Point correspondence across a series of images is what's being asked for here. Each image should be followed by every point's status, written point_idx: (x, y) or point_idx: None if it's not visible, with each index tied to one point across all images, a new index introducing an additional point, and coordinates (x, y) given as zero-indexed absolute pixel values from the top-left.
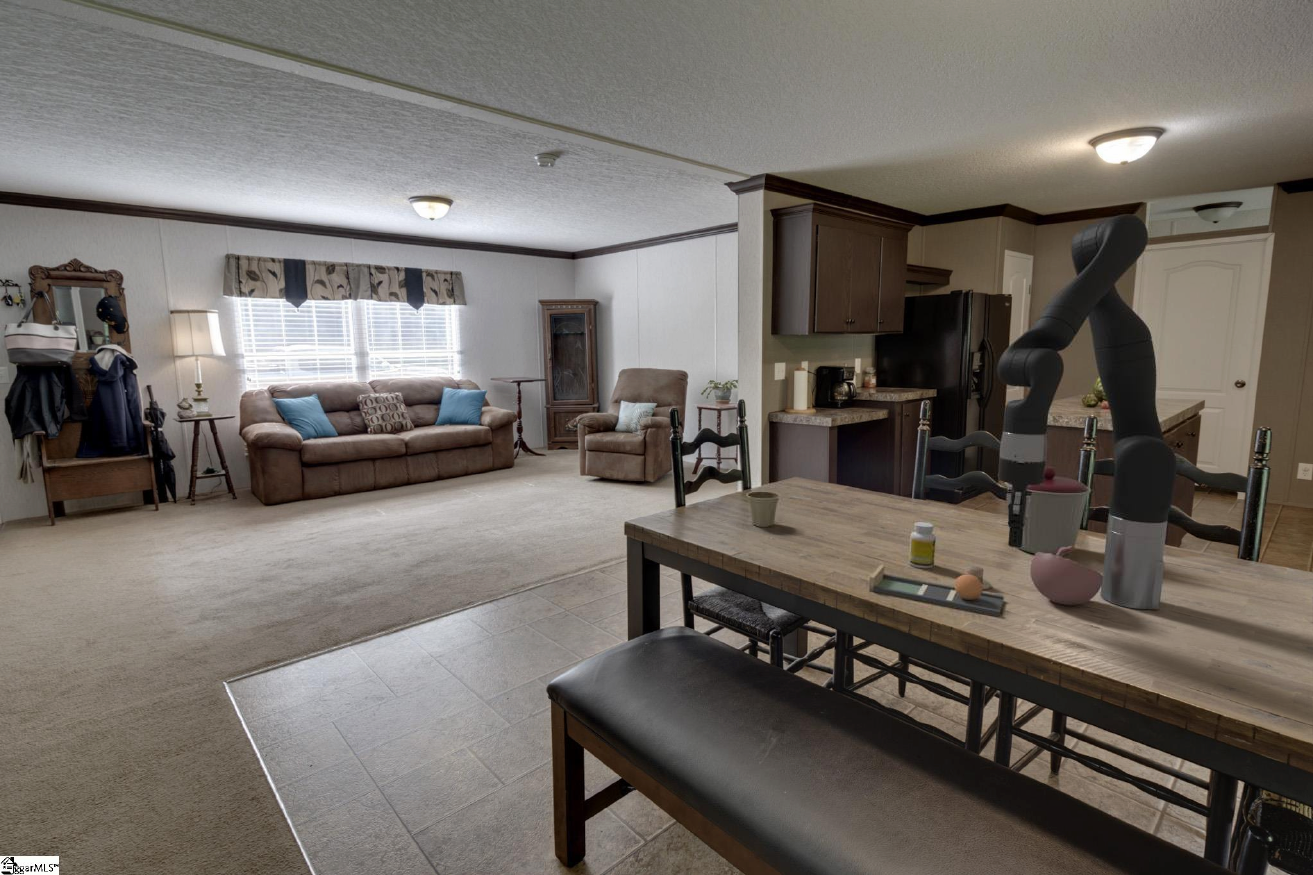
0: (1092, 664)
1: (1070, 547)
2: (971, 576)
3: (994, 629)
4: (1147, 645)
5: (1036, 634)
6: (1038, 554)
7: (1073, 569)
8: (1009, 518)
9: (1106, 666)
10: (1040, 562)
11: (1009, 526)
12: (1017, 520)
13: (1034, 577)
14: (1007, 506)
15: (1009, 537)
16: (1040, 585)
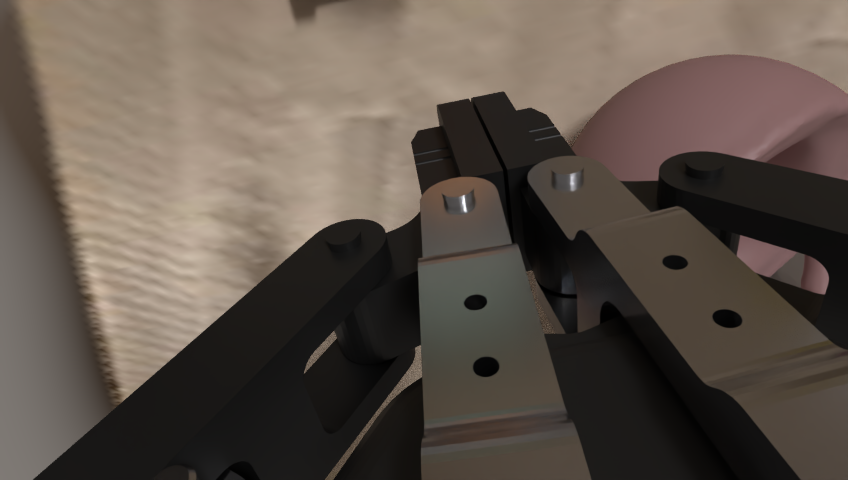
0: (155, 317)
1: (813, 291)
2: None
3: (139, 22)
4: (415, 370)
5: (239, 157)
6: (738, 145)
7: None
8: (208, 339)
9: (177, 339)
10: (660, 158)
11: (429, 195)
12: (562, 261)
13: (631, 97)
14: (423, 350)
15: (448, 134)
16: (594, 120)
